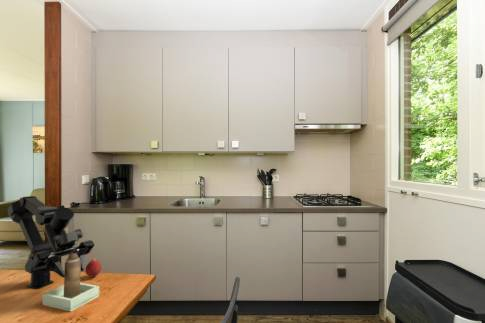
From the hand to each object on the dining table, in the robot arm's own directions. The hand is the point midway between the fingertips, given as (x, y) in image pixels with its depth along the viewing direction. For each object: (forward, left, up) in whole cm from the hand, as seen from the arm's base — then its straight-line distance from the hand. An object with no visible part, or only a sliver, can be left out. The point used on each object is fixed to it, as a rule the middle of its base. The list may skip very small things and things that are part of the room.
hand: (73, 273), depth 96 cm
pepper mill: (-1, 0, -8) cm, 9 cm away
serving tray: (-1, 0, -9) cm, 10 cm away
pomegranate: (-10, +17, -10) cm, 22 cm away
